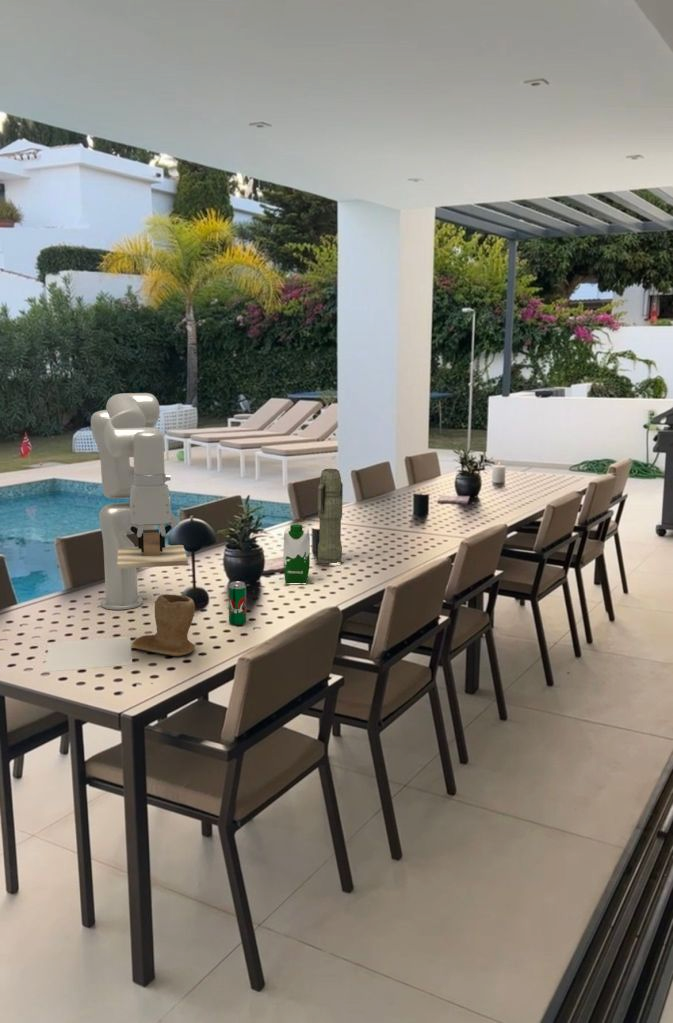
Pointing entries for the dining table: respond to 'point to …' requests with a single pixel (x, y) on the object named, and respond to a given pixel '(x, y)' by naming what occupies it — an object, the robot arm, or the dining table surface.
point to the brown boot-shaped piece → (170, 627)
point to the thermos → (330, 516)
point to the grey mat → (88, 654)
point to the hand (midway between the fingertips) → (151, 550)
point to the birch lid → (151, 553)
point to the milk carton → (296, 554)
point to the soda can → (237, 603)
